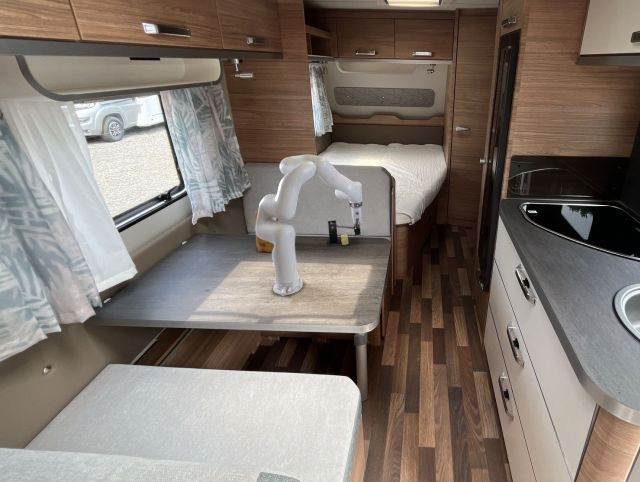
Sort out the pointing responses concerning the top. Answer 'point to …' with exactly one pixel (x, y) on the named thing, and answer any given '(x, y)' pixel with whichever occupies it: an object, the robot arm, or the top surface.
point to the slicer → (332, 232)
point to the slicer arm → (344, 226)
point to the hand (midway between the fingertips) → (357, 232)
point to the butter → (344, 239)
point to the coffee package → (261, 243)
